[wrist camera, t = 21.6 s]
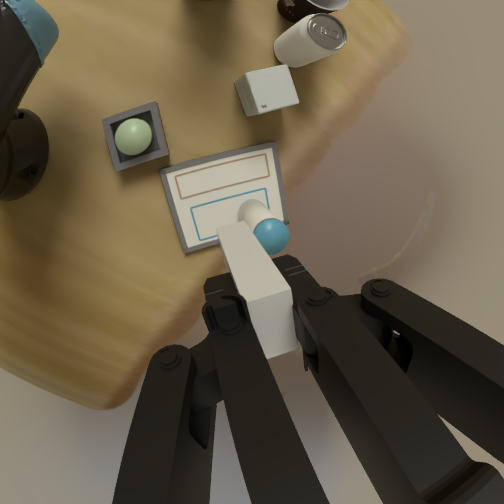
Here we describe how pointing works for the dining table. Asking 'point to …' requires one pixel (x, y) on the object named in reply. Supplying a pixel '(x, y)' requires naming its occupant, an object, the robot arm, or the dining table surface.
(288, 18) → the coffee mug
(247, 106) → the product box
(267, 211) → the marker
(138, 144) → the button
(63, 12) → the dining table surface
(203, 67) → the dining table surface
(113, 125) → the button box
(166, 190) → the picture board
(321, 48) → the can
